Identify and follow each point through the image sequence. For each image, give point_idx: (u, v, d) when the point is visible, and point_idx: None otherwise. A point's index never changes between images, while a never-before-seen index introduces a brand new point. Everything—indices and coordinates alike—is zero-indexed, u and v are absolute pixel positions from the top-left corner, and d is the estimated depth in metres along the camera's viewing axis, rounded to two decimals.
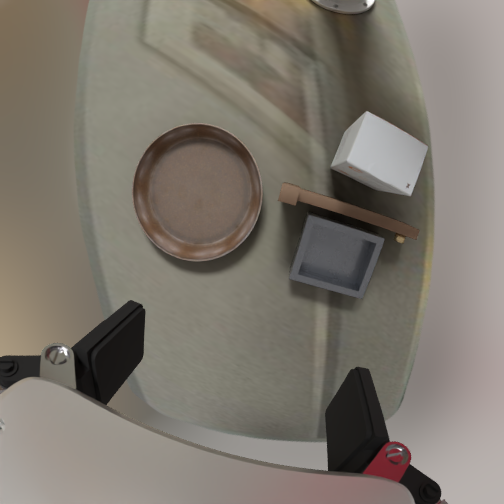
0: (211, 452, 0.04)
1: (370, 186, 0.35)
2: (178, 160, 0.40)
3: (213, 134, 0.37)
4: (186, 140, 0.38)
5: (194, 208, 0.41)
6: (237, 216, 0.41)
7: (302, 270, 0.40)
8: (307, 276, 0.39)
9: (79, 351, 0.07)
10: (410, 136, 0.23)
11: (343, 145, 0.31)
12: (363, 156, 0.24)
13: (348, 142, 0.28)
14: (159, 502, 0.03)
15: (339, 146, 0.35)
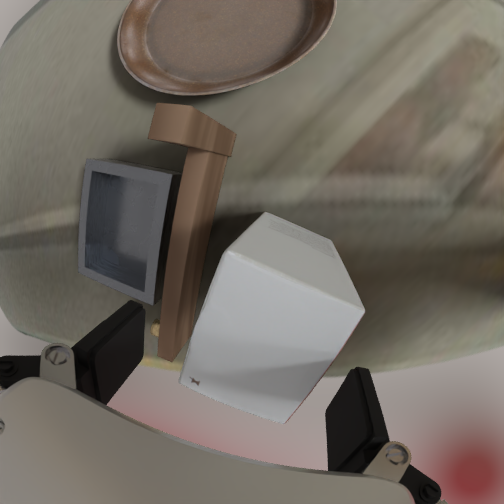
0: (211, 452, 0.04)
1: None
2: None
3: (318, 24, 0.16)
4: None
5: (197, 12, 0.18)
6: (180, 68, 0.20)
7: (105, 177, 0.23)
8: (91, 186, 0.21)
9: (79, 351, 0.07)
10: (302, 397, 0.12)
11: (296, 238, 0.17)
12: (242, 296, 0.11)
13: (294, 251, 0.14)
14: (159, 502, 0.03)
15: (301, 229, 0.21)
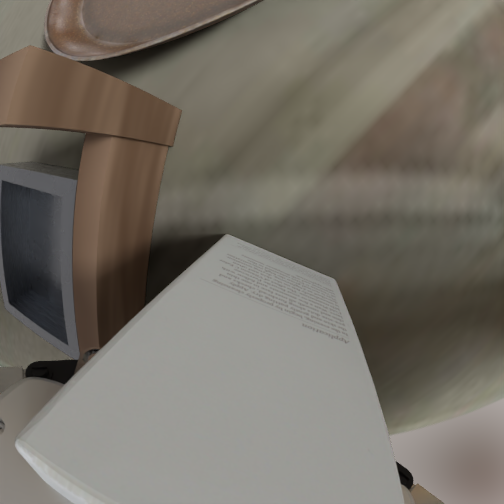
0: None
1: None
2: None
3: None
4: None
5: None
6: (114, 30, 0.11)
7: (22, 186, 0.14)
8: (3, 201, 0.12)
9: None
10: None
11: (270, 302, 0.08)
12: None
13: (254, 372, 0.05)
14: None
15: (286, 266, 0.12)
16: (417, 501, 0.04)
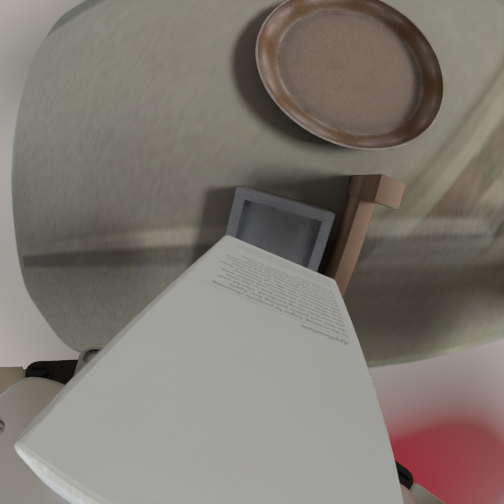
0: None
1: None
2: (391, 50, 0.21)
3: (428, 98, 0.21)
4: (417, 65, 0.21)
5: (329, 58, 0.23)
6: (321, 113, 0.25)
7: (246, 204, 0.28)
8: (241, 214, 0.26)
9: None
10: None
11: (270, 303, 0.08)
12: None
13: (253, 373, 0.05)
14: None
15: (286, 267, 0.12)
16: (417, 501, 0.04)
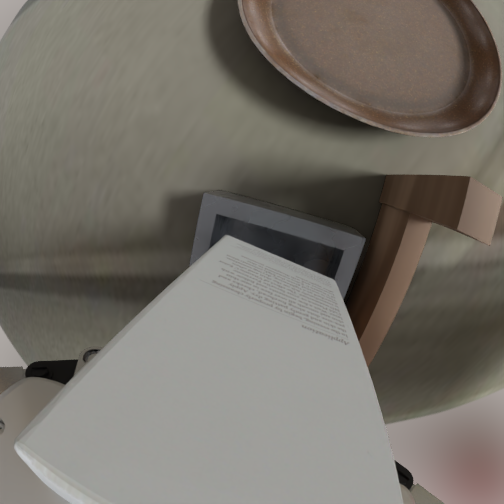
0: None
1: None
2: (428, 8, 0.11)
3: (481, 73, 0.11)
4: (461, 30, 0.11)
5: (345, 9, 0.13)
6: (339, 79, 0.15)
7: (223, 220, 0.18)
8: (212, 238, 0.16)
9: None
10: None
11: (270, 303, 0.08)
12: None
13: (253, 374, 0.05)
14: None
15: (285, 267, 0.12)
16: (417, 501, 0.04)
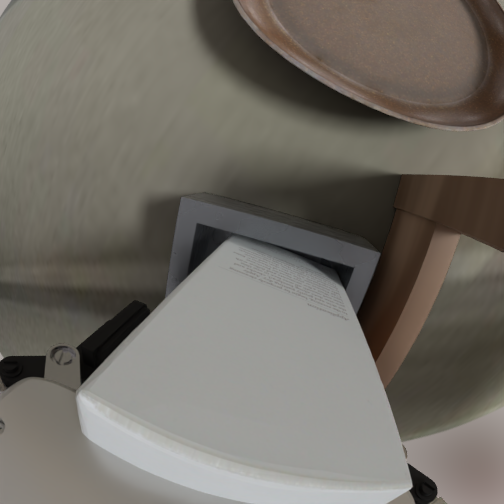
0: None
1: None
2: None
3: (501, 63, 0.08)
4: (476, 17, 0.08)
5: None
6: (345, 62, 0.12)
7: (207, 228, 0.15)
8: (192, 252, 0.13)
9: (85, 351, 0.07)
10: None
11: (279, 286, 0.10)
12: None
13: (270, 337, 0.06)
14: (159, 502, 0.03)
15: (291, 258, 0.14)
16: None
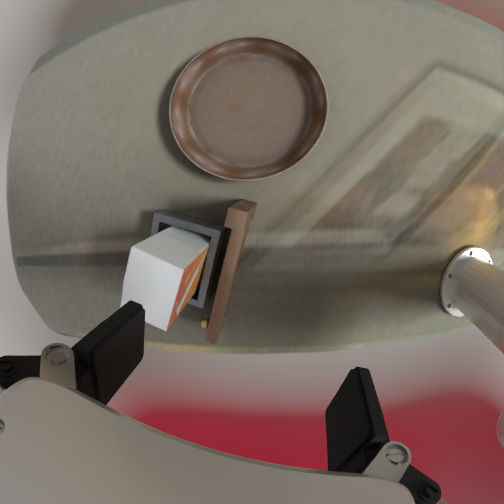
0: (211, 452, 0.04)
1: None
2: (286, 87, 0.31)
3: (313, 128, 0.32)
4: (309, 97, 0.31)
5: (228, 103, 0.33)
6: (218, 151, 0.35)
7: (164, 223, 0.37)
8: (158, 231, 0.36)
9: (79, 351, 0.07)
10: (169, 314, 0.27)
11: (179, 239, 0.32)
12: (138, 264, 0.26)
13: (168, 246, 0.29)
14: (159, 502, 0.03)
15: (193, 234, 0.36)
16: None
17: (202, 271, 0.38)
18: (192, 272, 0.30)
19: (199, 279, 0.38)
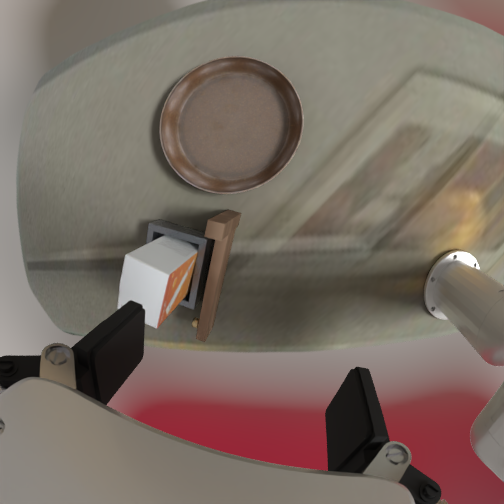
0: (211, 452, 0.04)
1: None
2: (265, 103, 0.35)
3: (290, 142, 0.35)
4: (287, 111, 0.34)
5: (213, 121, 0.37)
6: (205, 166, 0.38)
7: (159, 232, 0.41)
8: (153, 240, 0.40)
9: (79, 351, 0.07)
10: (158, 313, 0.31)
11: (170, 247, 0.36)
12: (131, 269, 0.30)
13: (158, 254, 0.33)
14: (159, 502, 0.03)
15: (183, 242, 0.40)
16: None
17: None
18: (180, 277, 0.34)
19: (190, 283, 0.41)
